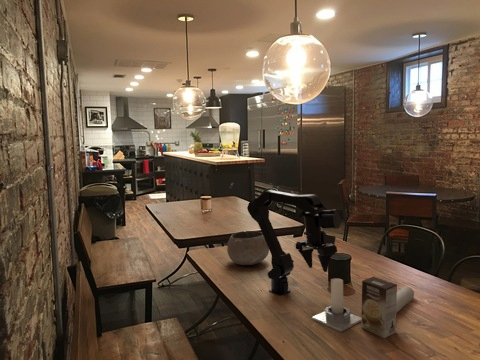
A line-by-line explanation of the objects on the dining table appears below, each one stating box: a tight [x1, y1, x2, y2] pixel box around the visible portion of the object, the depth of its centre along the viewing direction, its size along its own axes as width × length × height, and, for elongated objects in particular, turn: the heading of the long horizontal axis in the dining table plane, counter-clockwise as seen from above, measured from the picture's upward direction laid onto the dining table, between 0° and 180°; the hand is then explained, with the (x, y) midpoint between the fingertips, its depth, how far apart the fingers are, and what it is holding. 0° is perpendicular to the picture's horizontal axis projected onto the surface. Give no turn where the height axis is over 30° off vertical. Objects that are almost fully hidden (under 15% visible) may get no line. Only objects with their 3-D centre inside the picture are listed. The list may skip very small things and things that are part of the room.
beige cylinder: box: [330, 277, 344, 315], centre depth 135 cm, size 4×4×13 cm
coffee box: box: [360, 276, 398, 339], centre depth 127 cm, size 9×6×16 cm
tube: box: [396, 286, 415, 314], centre depth 144 cm, size 5×5×25 cm
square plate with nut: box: [311, 305, 362, 333], centre depth 135 cm, size 12×12×3 cm
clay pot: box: [226, 230, 270, 266], centre depth 197 cm, size 21×21×15 cm
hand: (318, 269), depth 148 cm, fingers open, 9 cm apart
